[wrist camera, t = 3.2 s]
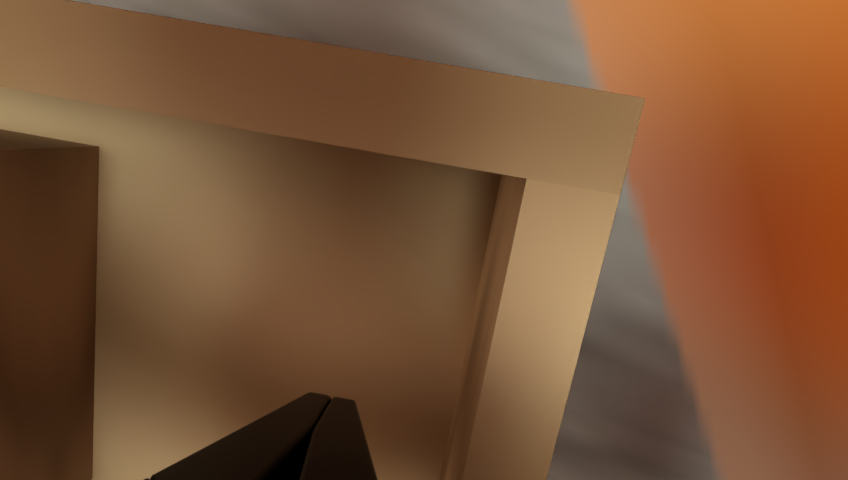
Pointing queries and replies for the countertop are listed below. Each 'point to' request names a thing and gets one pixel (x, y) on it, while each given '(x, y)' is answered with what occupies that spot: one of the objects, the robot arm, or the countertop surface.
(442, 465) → the open box
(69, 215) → the cover plate
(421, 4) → the countertop surface
